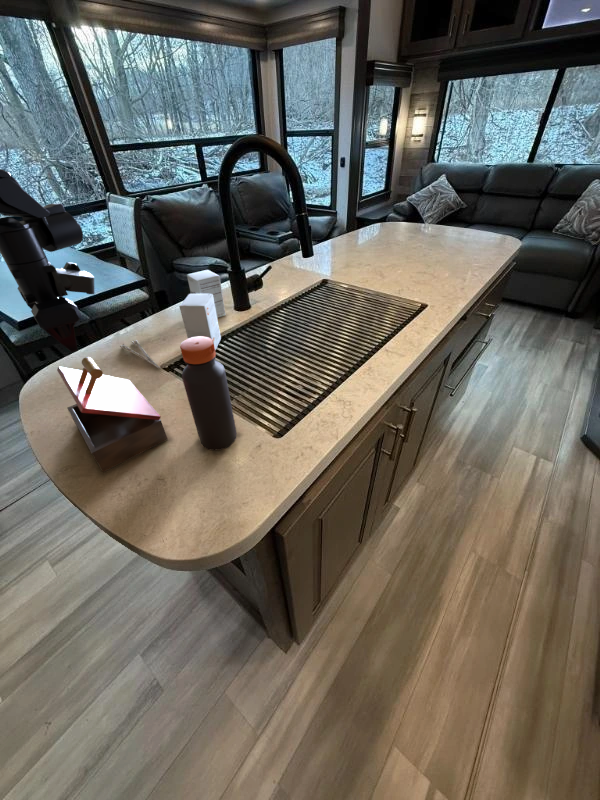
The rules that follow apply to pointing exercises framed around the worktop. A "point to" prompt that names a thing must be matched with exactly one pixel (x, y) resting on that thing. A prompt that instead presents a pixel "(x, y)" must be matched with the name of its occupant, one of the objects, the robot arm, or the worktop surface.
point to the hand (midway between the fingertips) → (68, 342)
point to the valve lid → (105, 393)
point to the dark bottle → (208, 393)
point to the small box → (200, 317)
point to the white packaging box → (208, 288)
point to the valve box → (116, 436)
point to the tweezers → (139, 354)
